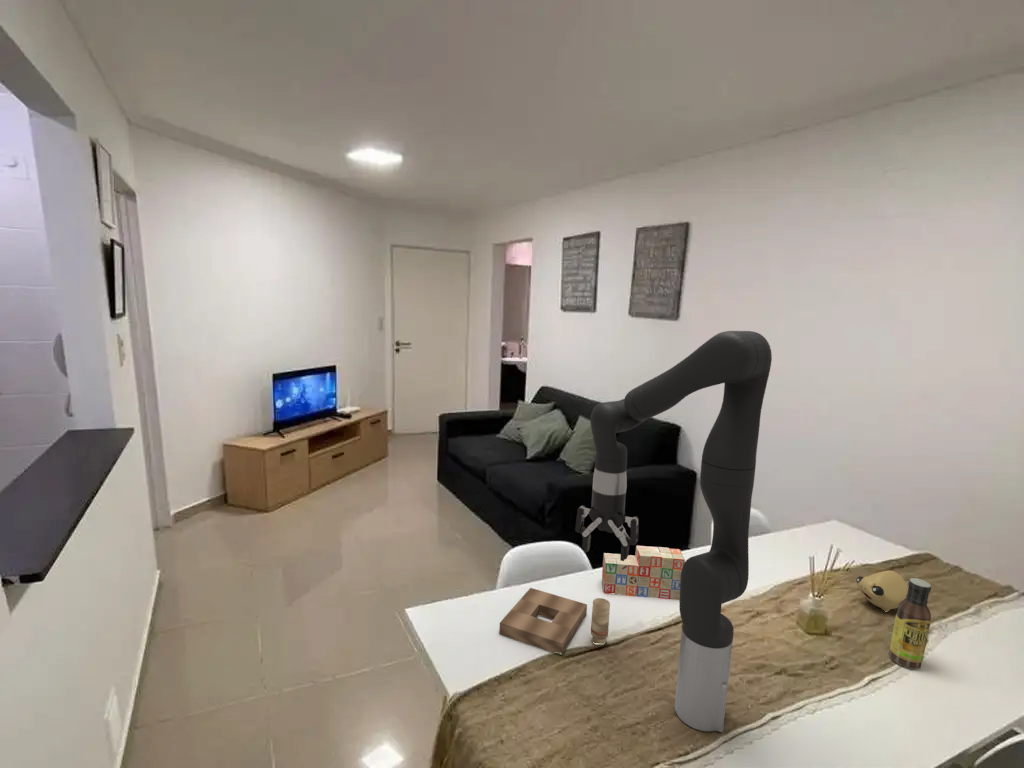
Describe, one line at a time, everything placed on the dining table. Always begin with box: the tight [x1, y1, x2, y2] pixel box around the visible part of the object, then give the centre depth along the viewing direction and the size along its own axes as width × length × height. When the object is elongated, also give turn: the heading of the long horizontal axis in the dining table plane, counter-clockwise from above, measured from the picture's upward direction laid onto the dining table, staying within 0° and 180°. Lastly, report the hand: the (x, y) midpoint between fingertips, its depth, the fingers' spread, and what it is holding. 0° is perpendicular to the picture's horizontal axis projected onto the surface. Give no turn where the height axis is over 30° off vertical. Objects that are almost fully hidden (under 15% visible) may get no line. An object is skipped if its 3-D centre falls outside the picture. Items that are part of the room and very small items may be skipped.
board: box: [498, 587, 588, 653], centre depth 129 cm, size 16×18×3 cm
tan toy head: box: [855, 570, 909, 612], centre depth 143 cm, size 10×12×11 cm
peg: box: [590, 597, 611, 643], centre depth 123 cm, size 4×4×10 cm
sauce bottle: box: [888, 577, 932, 670], centre depth 119 cm, size 6×6×20 cm
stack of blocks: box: [601, 545, 686, 601], centre depth 146 cm, size 21×6×12 cm, turn 85°
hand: (604, 555), depth 120 cm, fingers open, 8 cm apart
